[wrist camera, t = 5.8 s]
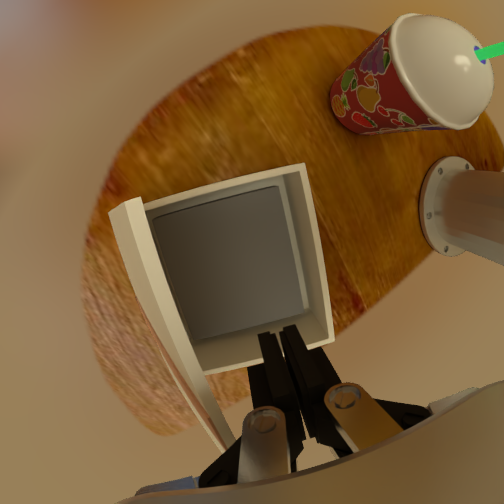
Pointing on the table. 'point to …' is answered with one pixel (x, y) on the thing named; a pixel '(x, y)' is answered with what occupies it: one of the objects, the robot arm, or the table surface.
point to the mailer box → (244, 264)
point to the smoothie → (416, 79)
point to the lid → (165, 317)
